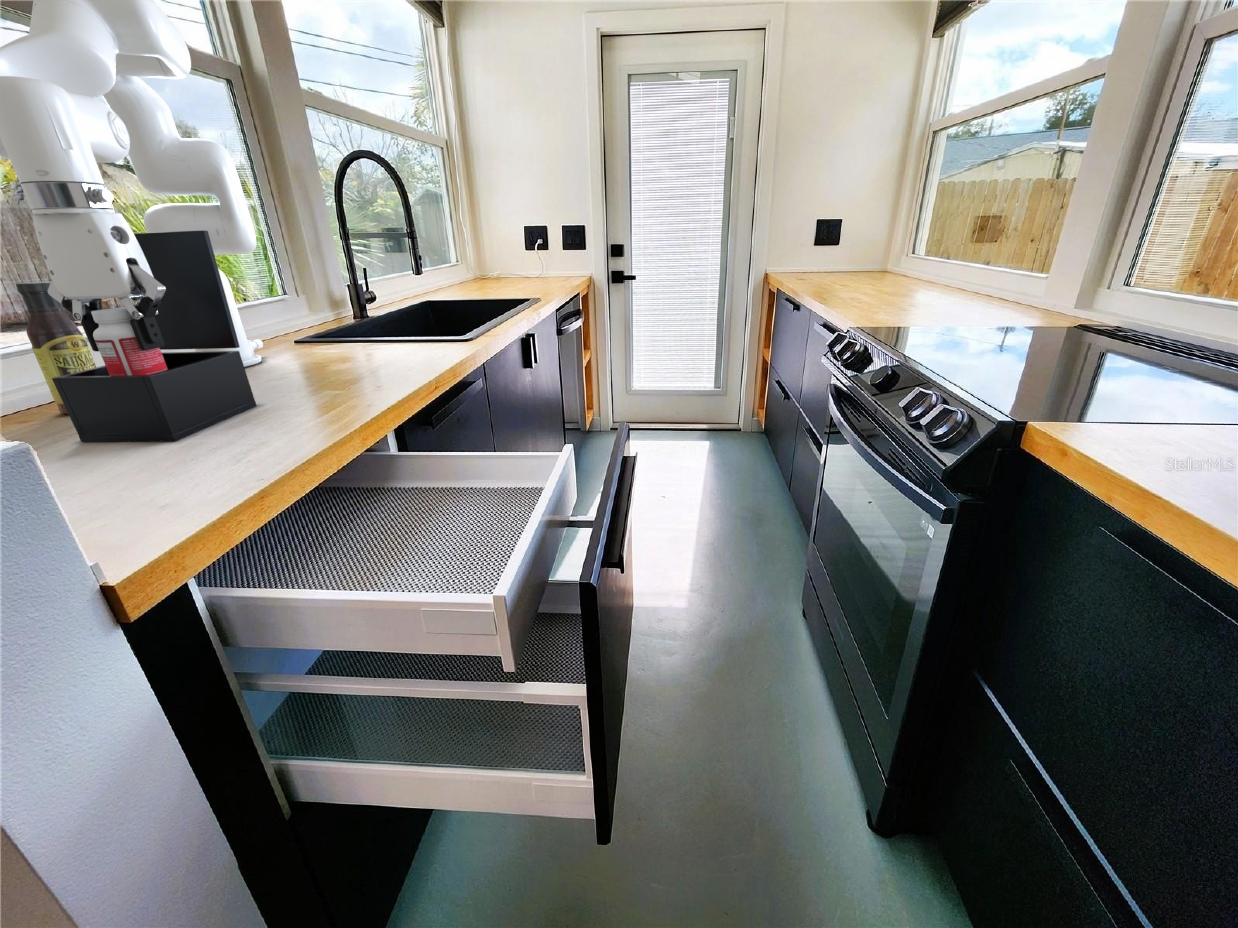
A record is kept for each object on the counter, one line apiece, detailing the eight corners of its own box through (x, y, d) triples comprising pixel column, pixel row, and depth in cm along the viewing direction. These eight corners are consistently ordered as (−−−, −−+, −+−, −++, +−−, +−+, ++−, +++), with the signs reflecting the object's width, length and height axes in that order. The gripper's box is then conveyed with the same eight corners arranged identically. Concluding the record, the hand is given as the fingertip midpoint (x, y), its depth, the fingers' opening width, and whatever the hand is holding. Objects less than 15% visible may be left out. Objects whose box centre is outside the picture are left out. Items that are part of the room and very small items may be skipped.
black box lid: (203, 230, 76) (231, 232, 81) (114, 234, 77) (147, 236, 82) (236, 348, 82) (260, 343, 87) (153, 350, 83) (181, 345, 88)
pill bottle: (181, 382, 78) (152, 304, 74) (164, 393, 73) (132, 309, 69) (129, 387, 77) (96, 308, 72) (108, 398, 71) (72, 313, 67)
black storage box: (175, 441, 72) (149, 376, 68) (81, 442, 73) (51, 378, 69) (256, 405, 86) (239, 350, 82) (177, 406, 87) (156, 352, 84)
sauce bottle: (80, 416, 84) (19, 284, 76) (50, 415, 85) (-13, 284, 77) (123, 404, 90) (71, 280, 82) (94, 403, 91) (40, 280, 83)
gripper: (162, 200, 68) (210, 342, 75) (40, 206, 70) (98, 345, 77) (106, 197, 61) (165, 353, 68) (-29, 203, 63) (43, 356, 70)
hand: (129, 347), depth 72 cm, fingers closed on pill bottle, 6 cm apart
